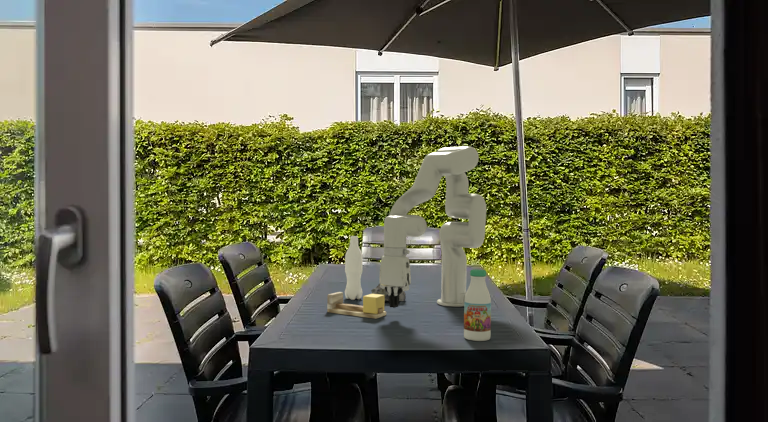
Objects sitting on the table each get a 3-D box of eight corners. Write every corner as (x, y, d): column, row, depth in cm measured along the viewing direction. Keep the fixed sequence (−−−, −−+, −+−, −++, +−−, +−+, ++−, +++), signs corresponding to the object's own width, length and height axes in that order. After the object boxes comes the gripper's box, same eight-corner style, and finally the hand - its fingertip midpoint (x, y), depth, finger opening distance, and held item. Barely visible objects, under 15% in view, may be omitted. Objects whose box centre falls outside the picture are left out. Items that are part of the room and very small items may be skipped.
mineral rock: (369, 302, 217) (369, 276, 216) (376, 297, 227) (376, 273, 227) (402, 304, 214) (402, 278, 213) (407, 299, 224) (407, 274, 224)
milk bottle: (461, 335, 167) (462, 268, 166) (486, 334, 167) (487, 268, 167) (467, 341, 159) (468, 271, 159) (493, 341, 160) (494, 271, 159)
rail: (386, 315, 194) (386, 297, 194) (376, 318, 188) (376, 300, 187) (338, 308, 204) (338, 291, 203) (327, 312, 198) (327, 294, 197)
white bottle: (363, 297, 227) (364, 235, 226) (361, 300, 220) (361, 237, 219) (346, 296, 227) (346, 235, 227) (343, 300, 220) (343, 236, 220)
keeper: (384, 310, 194) (384, 295, 193) (375, 313, 188) (375, 297, 188) (372, 309, 196) (372, 293, 196) (363, 312, 191) (363, 296, 191)
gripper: (419, 253, 187) (418, 307, 188) (381, 250, 195) (380, 302, 195) (409, 254, 181) (408, 311, 181) (370, 252, 188) (369, 306, 188)
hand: (394, 306), depth 188 cm, fingers closed
